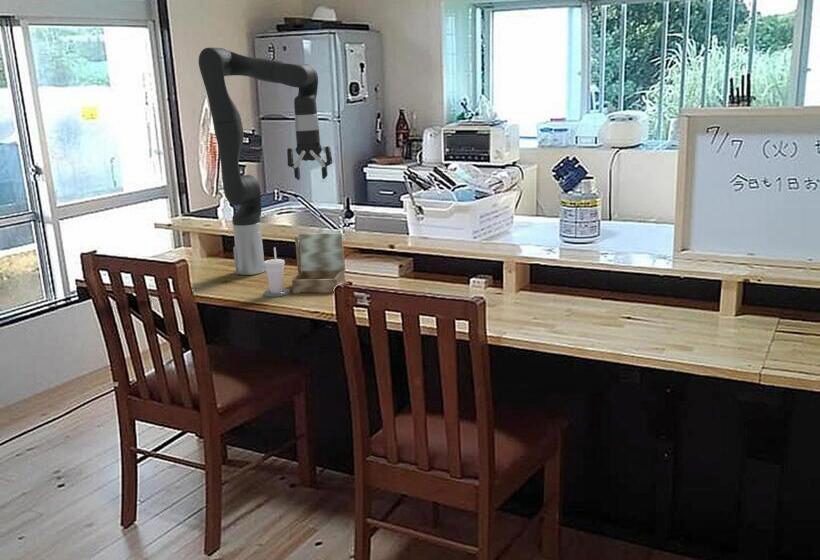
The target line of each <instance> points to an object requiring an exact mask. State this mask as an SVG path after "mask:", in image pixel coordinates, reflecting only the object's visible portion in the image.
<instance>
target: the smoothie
mask: <svg viewBox="0 0 820 560" xmlns="http://www.w3.org/2000/svg"><path fill="white" fill-rule="evenodd" d="M273 255H274V258H272V259H267V260H264V266H265V272H266V276H267V280H268V284H269V290H271V293H281V292H283V288H284V271H285V270H284V269H285V268H284V267H285V264H286V261H285V260H284V259H281V258H277V249H276V247H275V246H274V247H273Z"/></svg>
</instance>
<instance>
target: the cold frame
mask: <svg viewBox="0 0 820 560" xmlns="http://www.w3.org/2000/svg"><path fill="white" fill-rule="evenodd" d="M294 241H295V243H294V244H295V254H296V262H297V275H296V276H295V277H294V278H293V279H292V280H291V285H292V293H293V294H301V293H300V292H319V293H334V292H333V289H334V287H335V286H336V285H338V284H340V283H343V282H345V283H346V278H345V269H346V268H345V257H344V255H345V254H344V246H343V244H344V243H343V233H342V232H330V233H325V232H324V233H298V236H295V237H294Z"/></svg>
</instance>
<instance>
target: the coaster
mask: <svg viewBox="0 0 820 560" xmlns="http://www.w3.org/2000/svg"><path fill="white" fill-rule="evenodd" d="M290 294H291V291H290V289H289V288H284V287H283V292H281V293H271V290H270V289H268V290H265V291H264V292H263V295H264V297H267V298H279V297H285V296H287V295H290Z"/></svg>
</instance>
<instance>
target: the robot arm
mask: <svg viewBox="0 0 820 560" xmlns="http://www.w3.org/2000/svg"><path fill="white" fill-rule="evenodd" d="M198 55H199V56H198V67H199V70H200V71H199V72H200V74H201V77H202V81H203V85H204V87H205V90H206V95H207V99H208V105H209V110H210V114H211V117H212V125H213V129H214V134H215V138H216V142H217V147H218V154H219V159H220V166H221V168H220V169H221V178H222V187H223V193H224V195H225V198H226V200H227V201H228V203H229V204H231V205H233V206H239V205H240V206H239V209H237V211H236V212H235V213H234V214H233V215H232V217H231V218H232V228H233V229H232V230H233V237H234V246H233V249H232V250H233V259H234V265H235V266H234V267H235V274H236V275H243V276H251V275H259V274H262V273H264V272H266V268H265V266H264V262H265V255H264V245H263V235H262V234H263V233H262V226H261V225H262V223H261V217H262V216H261V215H262V194H261V187H260V184H259V180H258V179H257V178H256V177H255V176H253V175H252V174H245V175H241V171H240V165H239V163H240V161H239V159H240V154H241V151H242V147H243V143H244V137H245V132H244V126H243V122H242V118H241V114H240V112H239V110H238V108H237V105H236V104H235V102H234V101H233V100H232V98H231V96H230V94H229V92H228V89H227V85H226V81H225V77H231V76H244V77H248V78H253V79H255V80H259V81H263V82H267V83H274V84H281V85H285V86H288V87H292V88H298V93H297V96H295V97H294V100H293V106H294V107H293V108H294V131H295V139H296V140H295V141H296V147H288V148H287V152H286V153H287V167H290V168H293V171H294V172H293V174H294V178H295V179H296V180H297V181H300V180H301V167H300V165H301V163H302V162H303V161H304V162H306V161H312V162H314V161H316V162H317V163H319V165H320V166H321V176H322V177H321V179H322V180H326V179H327V177H328V166H331V165H332V164H333V157H332V150H331V149H332V148H331V146H330V145H328V146H322V145H321V139H320V126H319V123H320V122H319V118H318V110H317V109H318V107H317V94H318V87H319V76H318V73H317V70H316V68H315V67H314V66H313V65H311V64H308V63H307V64H297V63H296V64H294V63H287V62H285V61H282V60H277V59H269V58H262V57H251V56H246V55H242V54H239V53H236V52H233V51H231V50H229V49H226V48H222V47H205V48H203V49H202V50H201V51H200V53H199V54H198ZM322 151H323V153H324V154H325V159H326V161H325V160H324V158H323V157H322V156H321V153H322ZM295 153H296V154H297V155H298V157H297V159H296V160H295V162H294V155H295Z"/></svg>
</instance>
